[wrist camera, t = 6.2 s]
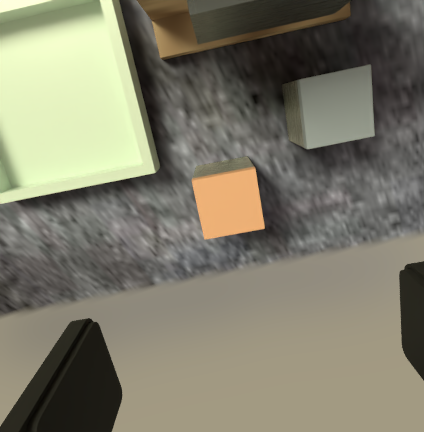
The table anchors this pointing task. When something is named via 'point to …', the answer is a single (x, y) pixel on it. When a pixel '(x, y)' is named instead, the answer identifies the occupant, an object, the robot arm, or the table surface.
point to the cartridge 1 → (228, 197)
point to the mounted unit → (233, 21)
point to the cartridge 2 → (330, 108)
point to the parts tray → (68, 99)
